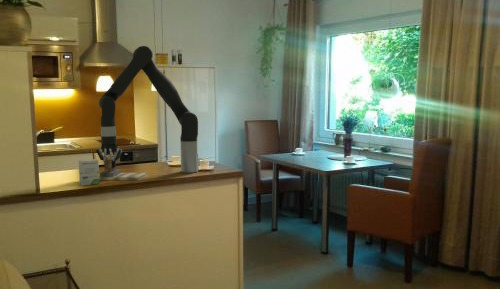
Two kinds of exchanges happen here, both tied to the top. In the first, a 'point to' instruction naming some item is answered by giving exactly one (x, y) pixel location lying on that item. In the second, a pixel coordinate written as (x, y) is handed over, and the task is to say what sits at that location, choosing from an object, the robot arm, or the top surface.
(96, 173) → the ink box
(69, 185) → the top surface
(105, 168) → the sanding block
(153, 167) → the top surface
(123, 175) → the birch board
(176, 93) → the robot arm
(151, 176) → the top surface
